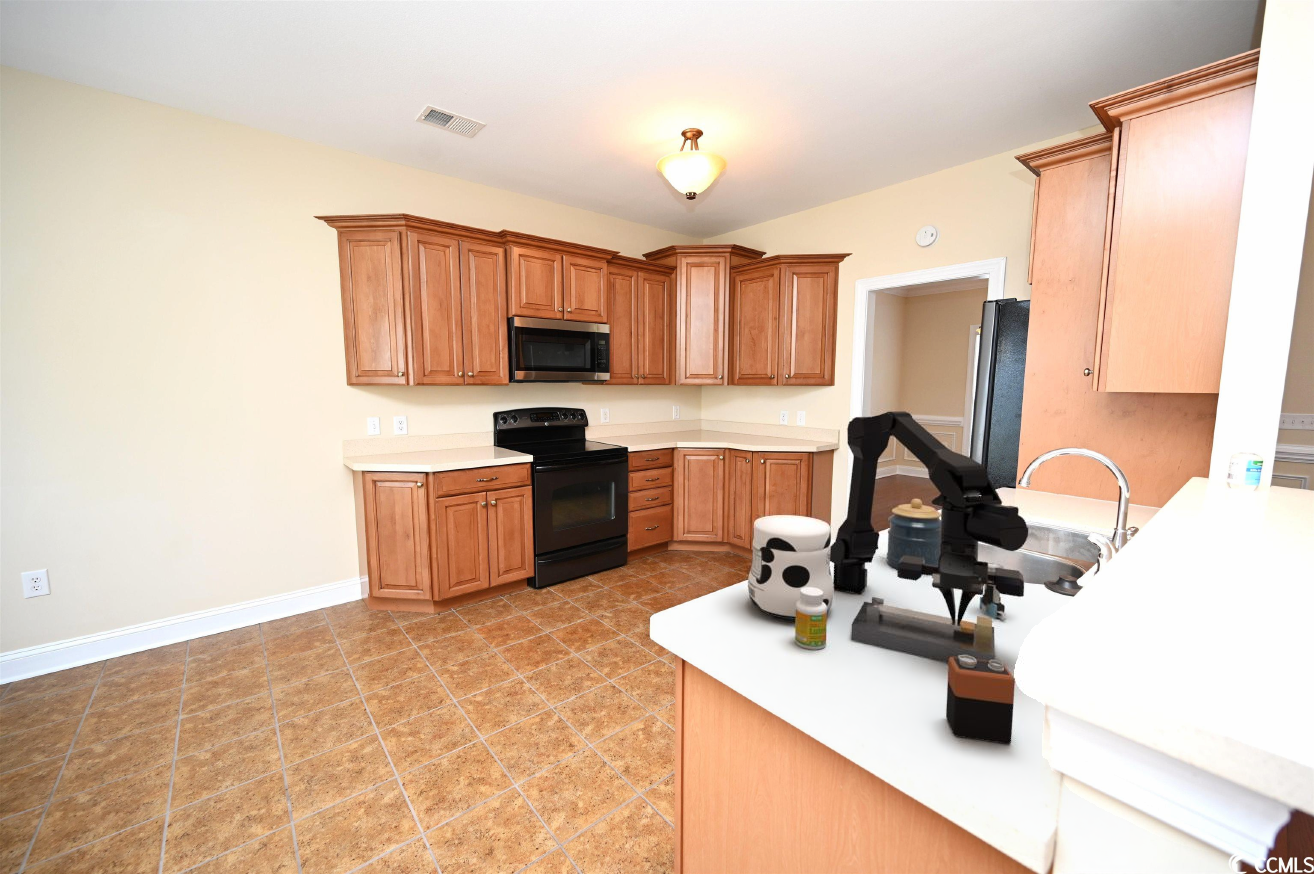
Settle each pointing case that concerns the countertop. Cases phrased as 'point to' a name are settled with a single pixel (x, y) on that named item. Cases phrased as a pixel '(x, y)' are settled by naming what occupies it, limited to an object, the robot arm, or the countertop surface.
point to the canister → (914, 533)
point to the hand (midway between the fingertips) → (956, 622)
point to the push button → (992, 597)
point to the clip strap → (925, 618)
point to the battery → (980, 699)
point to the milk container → (789, 562)
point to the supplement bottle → (811, 619)
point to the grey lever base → (922, 636)
